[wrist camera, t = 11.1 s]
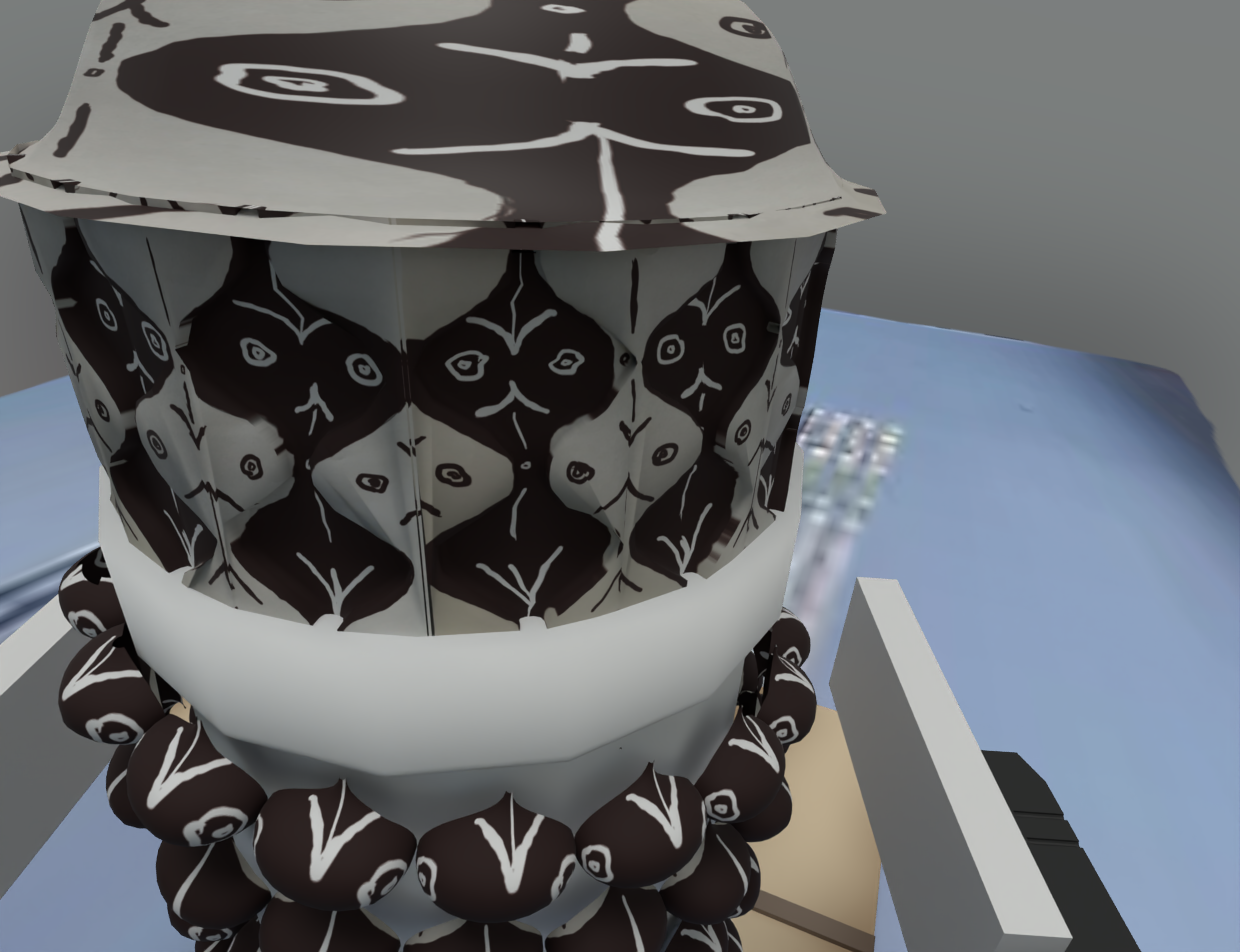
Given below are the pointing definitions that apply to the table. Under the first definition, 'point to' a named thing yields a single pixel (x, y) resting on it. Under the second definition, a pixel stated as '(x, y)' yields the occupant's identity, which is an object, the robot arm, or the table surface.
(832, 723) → the oak board
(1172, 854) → the table surface
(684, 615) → the decorative candle
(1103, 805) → the table surface
